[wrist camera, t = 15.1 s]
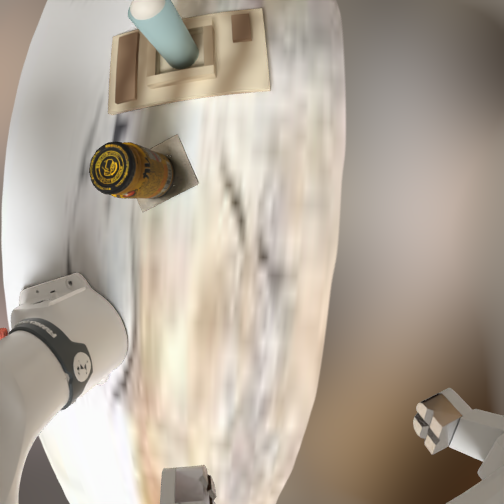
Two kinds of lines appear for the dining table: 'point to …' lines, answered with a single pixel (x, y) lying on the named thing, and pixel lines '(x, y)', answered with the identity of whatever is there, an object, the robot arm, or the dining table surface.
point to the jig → (198, 74)
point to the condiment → (142, 171)
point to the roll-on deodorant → (164, 31)
